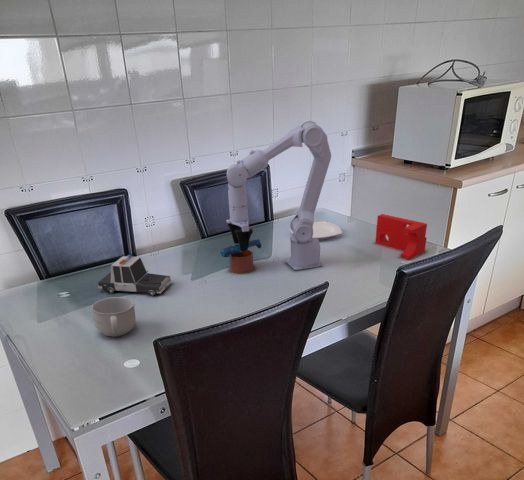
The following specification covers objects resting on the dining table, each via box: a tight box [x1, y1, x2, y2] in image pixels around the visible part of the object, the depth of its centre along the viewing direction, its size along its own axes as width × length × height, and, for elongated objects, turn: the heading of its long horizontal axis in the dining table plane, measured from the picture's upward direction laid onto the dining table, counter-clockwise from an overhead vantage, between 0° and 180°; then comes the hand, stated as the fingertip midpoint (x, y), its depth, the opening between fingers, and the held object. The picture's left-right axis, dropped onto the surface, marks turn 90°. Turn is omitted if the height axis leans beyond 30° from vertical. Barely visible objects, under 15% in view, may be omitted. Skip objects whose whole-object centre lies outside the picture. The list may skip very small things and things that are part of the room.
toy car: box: [97, 254, 173, 297], centre depth 155 cm, size 10×21×10 cm, turn 78°
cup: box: [228, 249, 255, 274], centre depth 167 cm, size 8×8×6 cm
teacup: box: [90, 296, 136, 337], centre depth 131 cm, size 14×11×8 cm
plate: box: [289, 220, 343, 241], centre depth 195 cm, size 19×19×2 cm
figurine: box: [220, 238, 262, 258], centre depth 165 cm, size 5×4×15 cm
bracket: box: [374, 213, 428, 260], centre depth 176 cm, size 18×10×10 cm
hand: (240, 246), depth 164 cm, fingers open, 7 cm apart
